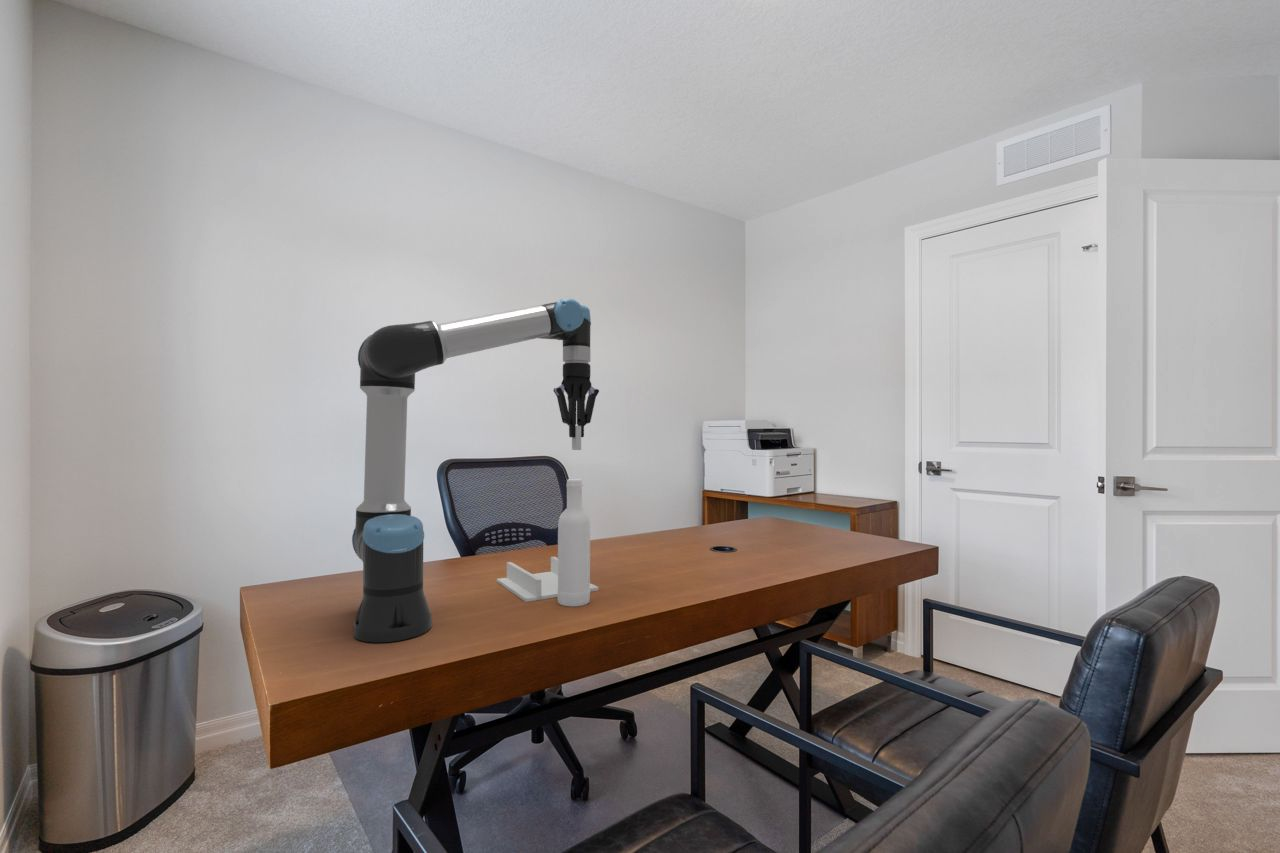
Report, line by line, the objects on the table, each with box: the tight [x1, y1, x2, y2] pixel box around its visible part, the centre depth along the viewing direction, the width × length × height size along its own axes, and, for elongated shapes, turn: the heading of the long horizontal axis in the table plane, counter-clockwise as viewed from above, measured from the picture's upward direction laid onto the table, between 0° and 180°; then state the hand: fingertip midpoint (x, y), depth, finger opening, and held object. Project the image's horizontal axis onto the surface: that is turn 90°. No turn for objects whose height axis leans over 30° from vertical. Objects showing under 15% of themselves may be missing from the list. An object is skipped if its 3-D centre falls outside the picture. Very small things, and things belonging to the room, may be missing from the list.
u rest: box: [496, 556, 600, 603], centre depth 159 cm, size 22×20×5 cm
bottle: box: [557, 478, 591, 607], centre depth 145 cm, size 8×8×30 cm
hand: (576, 449), depth 162 cm, fingers closed
